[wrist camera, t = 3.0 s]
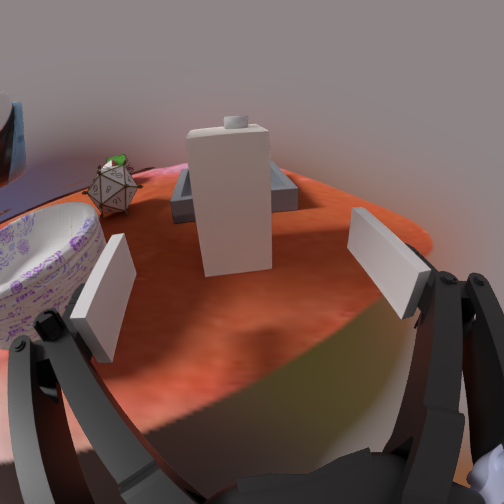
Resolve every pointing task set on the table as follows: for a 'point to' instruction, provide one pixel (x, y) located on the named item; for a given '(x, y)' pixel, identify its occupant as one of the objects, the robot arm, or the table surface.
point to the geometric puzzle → (116, 162)
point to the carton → (232, 195)
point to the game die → (112, 189)
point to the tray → (281, 195)
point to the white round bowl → (45, 264)
